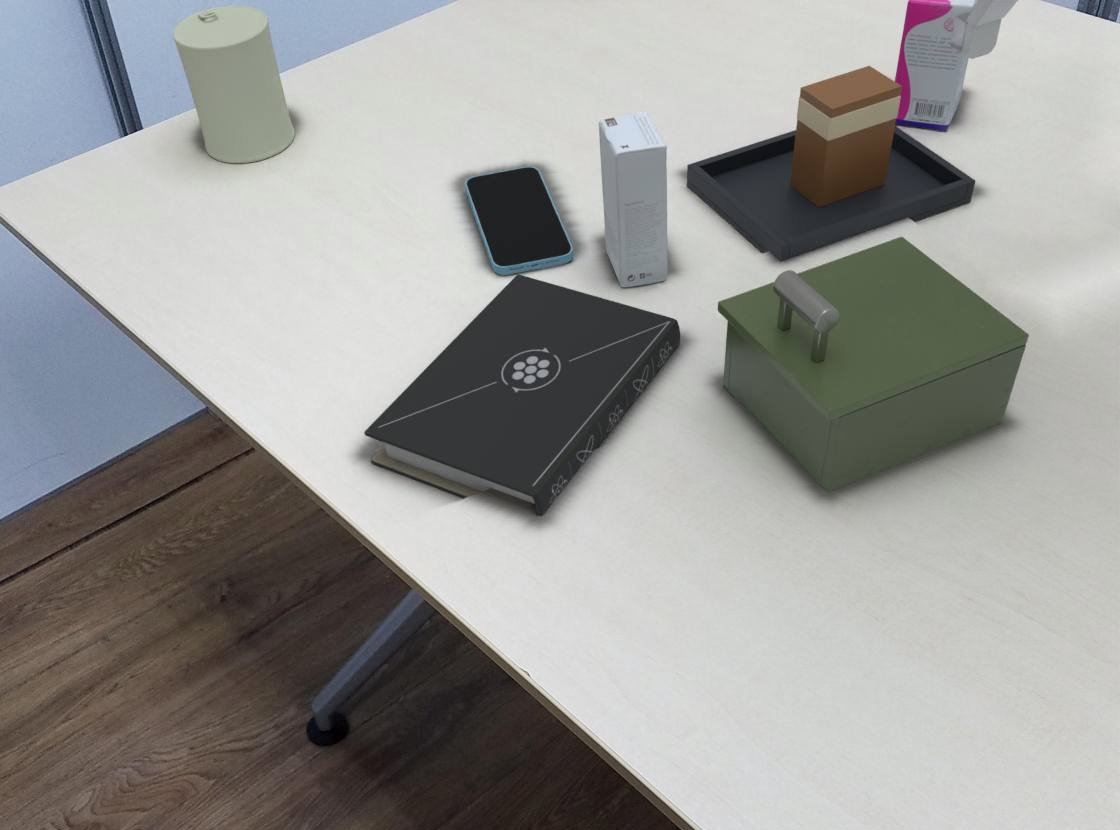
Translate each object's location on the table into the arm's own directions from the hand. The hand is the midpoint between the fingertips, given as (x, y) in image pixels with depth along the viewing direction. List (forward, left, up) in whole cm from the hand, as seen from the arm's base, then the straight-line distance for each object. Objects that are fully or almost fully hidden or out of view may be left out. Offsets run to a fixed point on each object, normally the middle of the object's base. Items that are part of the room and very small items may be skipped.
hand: (914, 18), depth 64 cm
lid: (-1, 0, -21) cm, 21 cm away
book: (+20, -13, -29) cm, 37 cm away
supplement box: (-32, -33, -29) cm, 54 cm away
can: (+27, -65, -29) cm, 76 cm away
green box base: (-1, 0, -29) cm, 29 cm away
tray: (-16, -26, -29) cm, 42 cm away
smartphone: (+10, -36, -29) cm, 47 cm away
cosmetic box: (+4, -25, -29) cm, 38 cm away
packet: (-17, -26, -28) cm, 42 cm away
